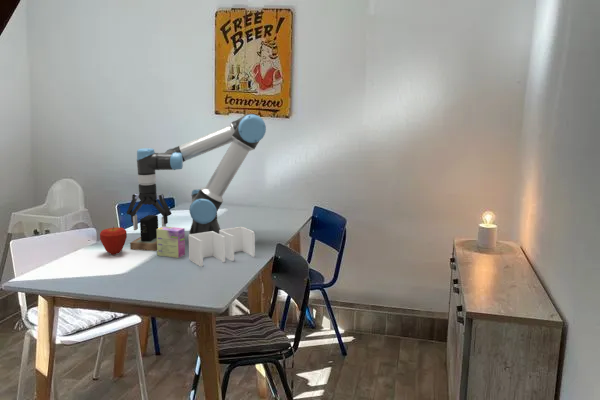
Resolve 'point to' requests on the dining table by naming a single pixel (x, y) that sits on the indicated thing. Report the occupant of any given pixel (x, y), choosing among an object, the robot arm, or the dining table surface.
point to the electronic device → (149, 227)
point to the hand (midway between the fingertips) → (150, 230)
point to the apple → (113, 239)
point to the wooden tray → (144, 245)
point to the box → (171, 242)
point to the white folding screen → (221, 244)
